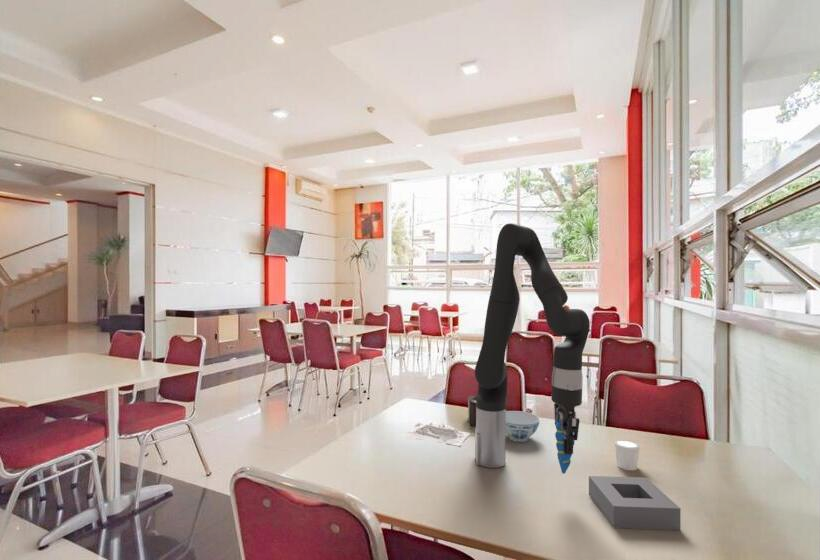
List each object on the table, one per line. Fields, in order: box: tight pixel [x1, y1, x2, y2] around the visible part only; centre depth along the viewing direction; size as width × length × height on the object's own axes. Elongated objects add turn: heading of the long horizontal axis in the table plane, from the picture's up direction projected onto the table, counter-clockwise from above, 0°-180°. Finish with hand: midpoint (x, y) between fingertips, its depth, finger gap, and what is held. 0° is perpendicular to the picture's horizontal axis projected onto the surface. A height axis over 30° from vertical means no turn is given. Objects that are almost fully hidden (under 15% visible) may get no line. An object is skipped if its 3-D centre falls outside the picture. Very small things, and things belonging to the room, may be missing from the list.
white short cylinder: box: [614, 439, 640, 471], centre depth 127 cm, size 7×7×7 cm
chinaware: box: [506, 410, 541, 443], centre depth 150 cm, size 15×15×8 cm
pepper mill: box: [467, 394, 477, 427], centre depth 169 cm, size 16×11×18 cm
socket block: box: [588, 475, 681, 531], centre depth 102 cm, size 15×15×5 cm
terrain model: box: [404, 422, 471, 447], centre depth 153 cm, size 17×23×5 cm
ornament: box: [554, 421, 576, 474], centre depth 108 cm, size 5×5×15 cm
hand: (564, 449), depth 108 cm, fingers closed on ornament, 5 cm apart
